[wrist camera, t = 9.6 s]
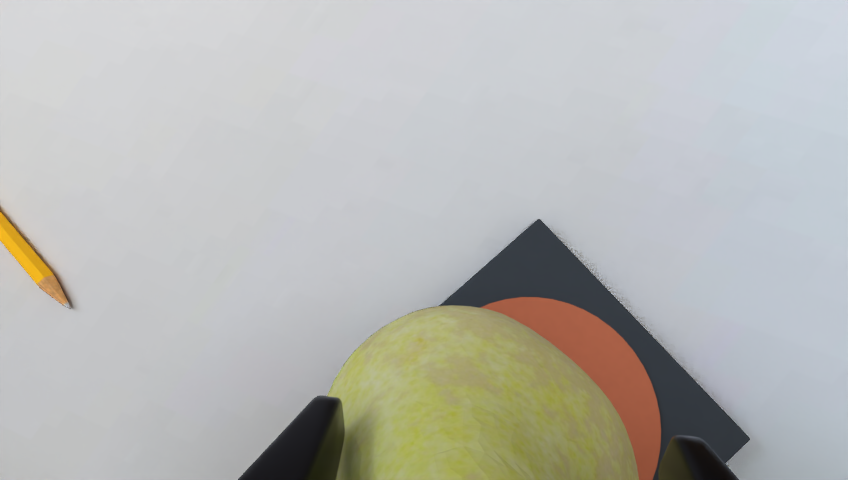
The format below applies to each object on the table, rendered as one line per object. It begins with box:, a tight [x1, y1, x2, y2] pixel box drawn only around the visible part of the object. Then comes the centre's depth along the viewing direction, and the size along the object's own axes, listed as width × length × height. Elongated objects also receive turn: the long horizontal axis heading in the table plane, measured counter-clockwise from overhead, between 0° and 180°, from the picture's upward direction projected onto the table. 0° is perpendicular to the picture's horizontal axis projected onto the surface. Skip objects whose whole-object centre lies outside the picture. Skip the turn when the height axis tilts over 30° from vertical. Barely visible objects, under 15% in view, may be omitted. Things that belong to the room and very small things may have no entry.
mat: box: [440, 219, 750, 480], centre depth 20 cm, size 11×11×1 cm
